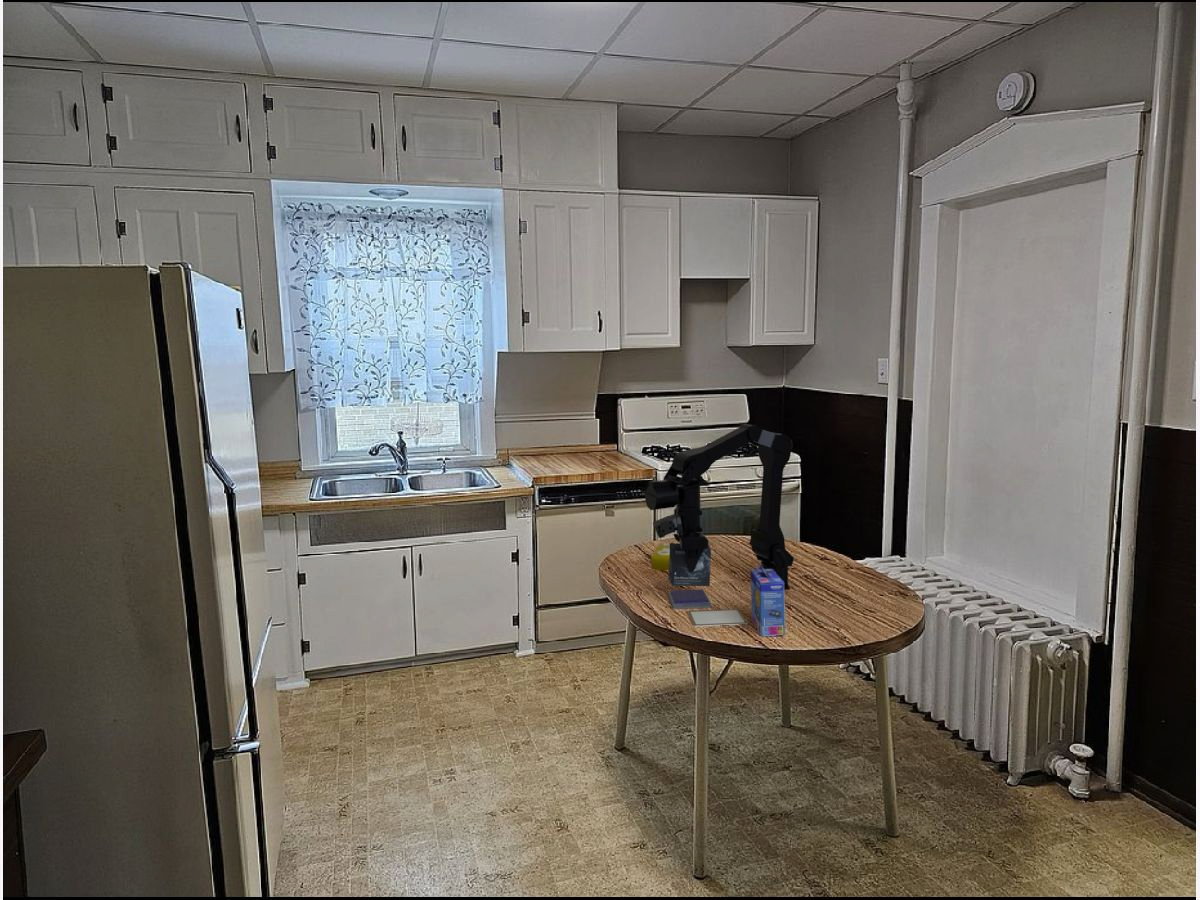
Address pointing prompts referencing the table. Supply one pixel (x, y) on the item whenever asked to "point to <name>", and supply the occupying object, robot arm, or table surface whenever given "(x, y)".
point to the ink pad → (689, 599)
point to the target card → (716, 617)
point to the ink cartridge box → (767, 602)
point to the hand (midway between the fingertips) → (689, 568)
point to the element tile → (661, 557)
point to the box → (680, 570)
